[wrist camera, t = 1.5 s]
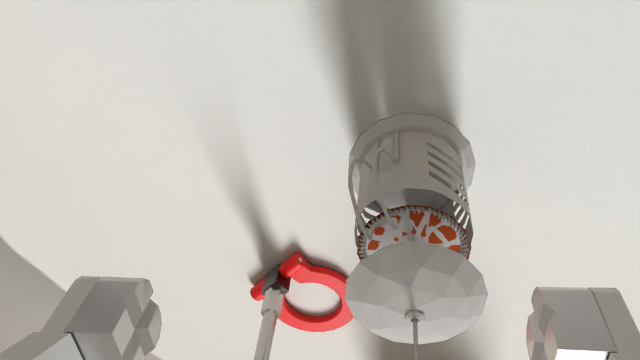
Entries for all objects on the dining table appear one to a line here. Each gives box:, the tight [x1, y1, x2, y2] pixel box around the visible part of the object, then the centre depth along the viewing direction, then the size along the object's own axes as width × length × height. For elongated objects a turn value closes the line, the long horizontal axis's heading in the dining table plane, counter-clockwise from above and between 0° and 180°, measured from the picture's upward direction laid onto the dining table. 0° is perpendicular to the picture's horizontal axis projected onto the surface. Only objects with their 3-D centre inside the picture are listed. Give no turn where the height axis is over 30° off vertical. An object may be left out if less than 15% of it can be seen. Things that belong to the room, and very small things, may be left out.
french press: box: [345, 113, 488, 360], centre depth 33 cm, size 10×12×25 cm
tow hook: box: [250, 253, 353, 360], centre depth 48 cm, size 8×13×9 cm
